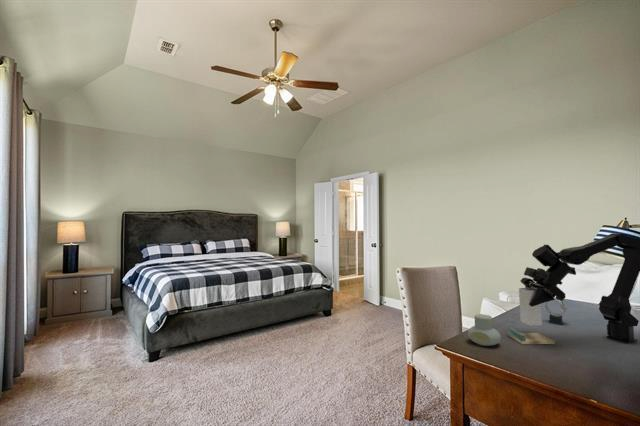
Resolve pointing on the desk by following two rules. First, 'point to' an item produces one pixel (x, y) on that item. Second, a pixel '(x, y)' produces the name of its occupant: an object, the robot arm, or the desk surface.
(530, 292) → the grey tall block
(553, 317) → the watch
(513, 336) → the stand
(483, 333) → the air freshener
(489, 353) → the desk surface
